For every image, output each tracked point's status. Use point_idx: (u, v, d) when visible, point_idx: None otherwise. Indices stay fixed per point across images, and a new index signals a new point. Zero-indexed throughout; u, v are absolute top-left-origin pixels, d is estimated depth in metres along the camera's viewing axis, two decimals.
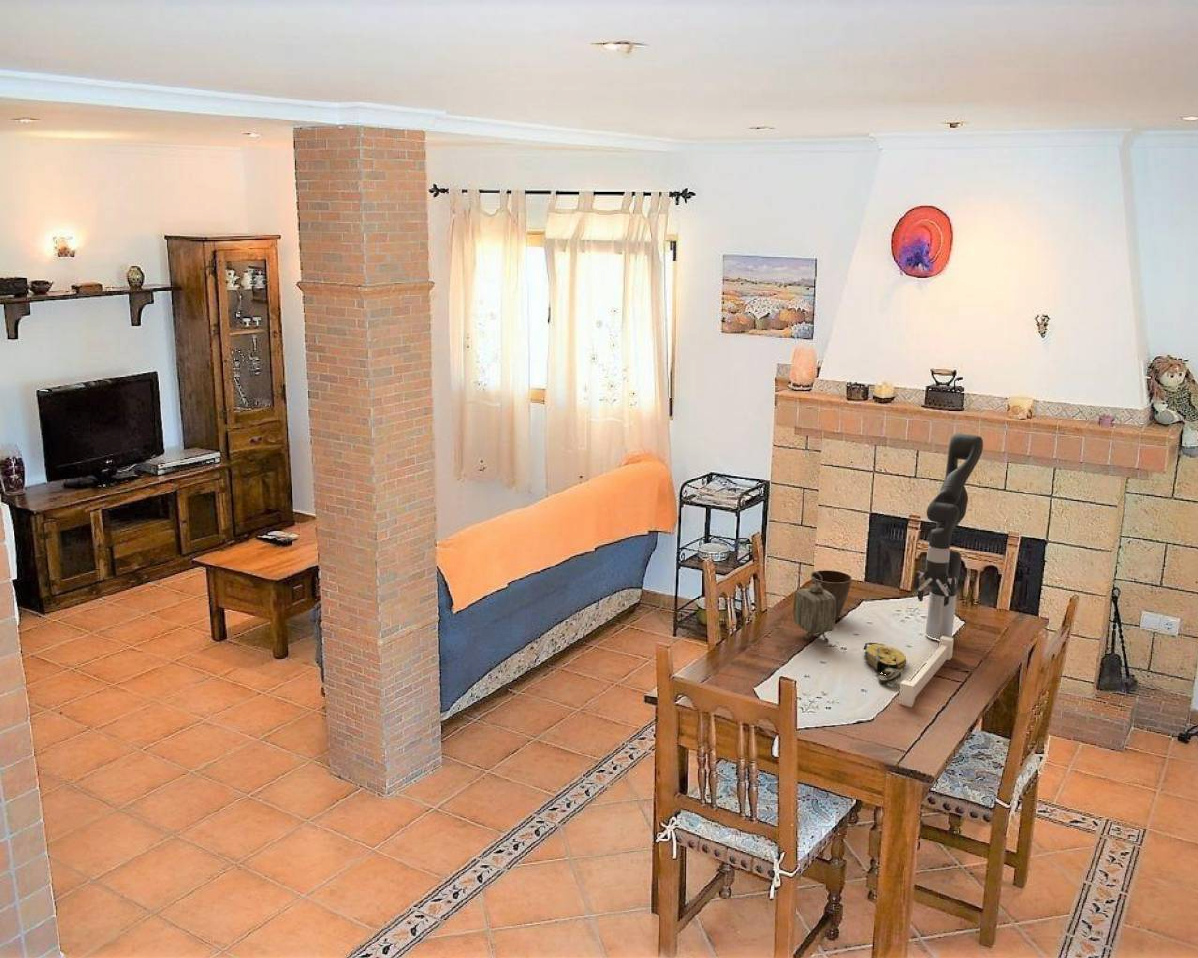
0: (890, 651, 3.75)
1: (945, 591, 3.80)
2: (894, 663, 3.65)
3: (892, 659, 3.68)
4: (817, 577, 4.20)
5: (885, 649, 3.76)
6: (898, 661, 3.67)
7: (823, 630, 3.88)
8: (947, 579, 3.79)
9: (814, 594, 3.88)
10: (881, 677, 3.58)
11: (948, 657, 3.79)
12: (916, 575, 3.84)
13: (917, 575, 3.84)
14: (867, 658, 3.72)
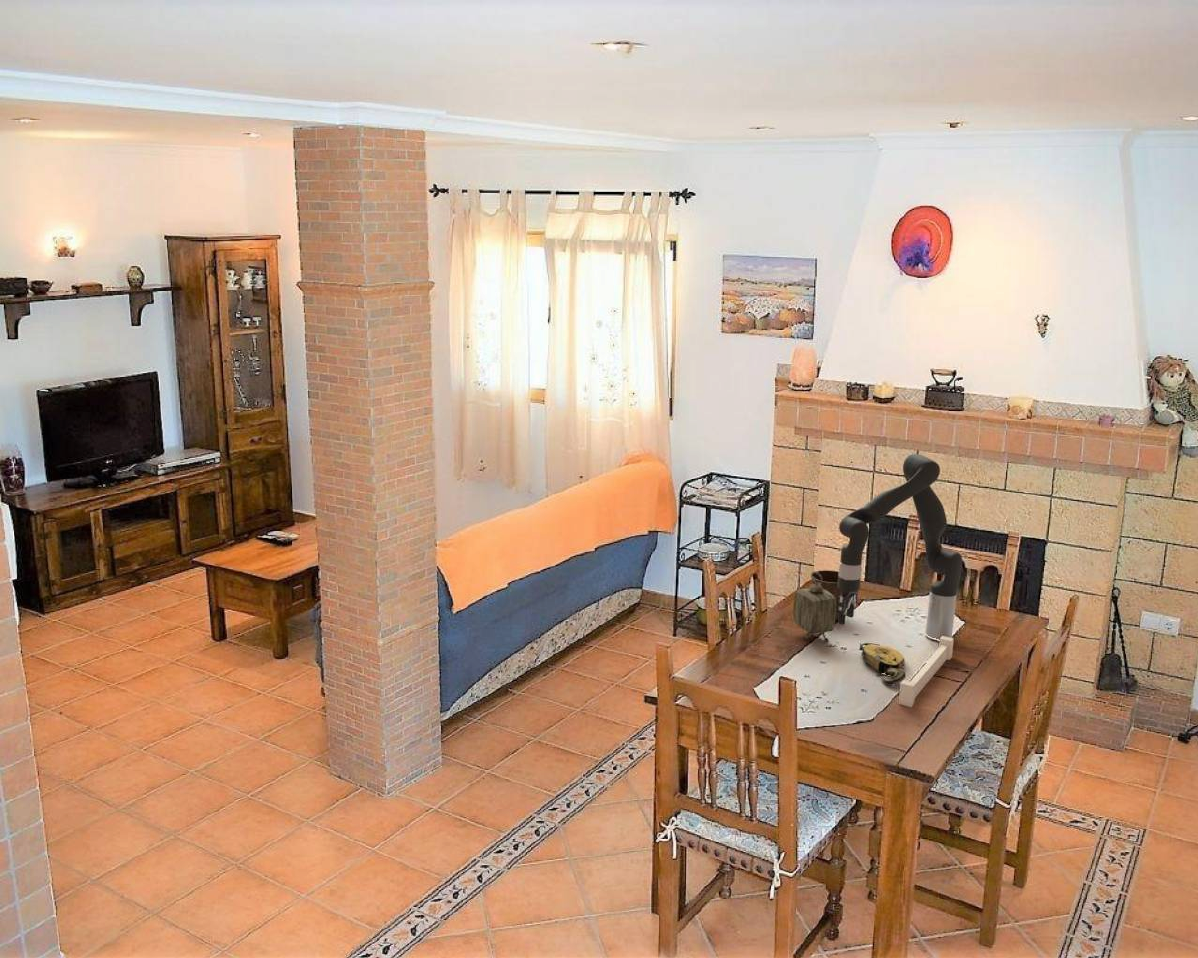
0: (887, 651, 3.75)
1: (854, 602, 3.75)
2: (895, 663, 3.65)
3: (892, 659, 3.68)
4: (817, 577, 4.20)
5: (882, 649, 3.76)
6: (898, 661, 3.67)
7: (823, 630, 3.88)
8: None
9: (814, 594, 3.88)
10: (886, 678, 3.58)
11: (948, 657, 3.79)
12: (844, 601, 3.66)
13: (845, 600, 3.66)
14: (866, 659, 3.71)
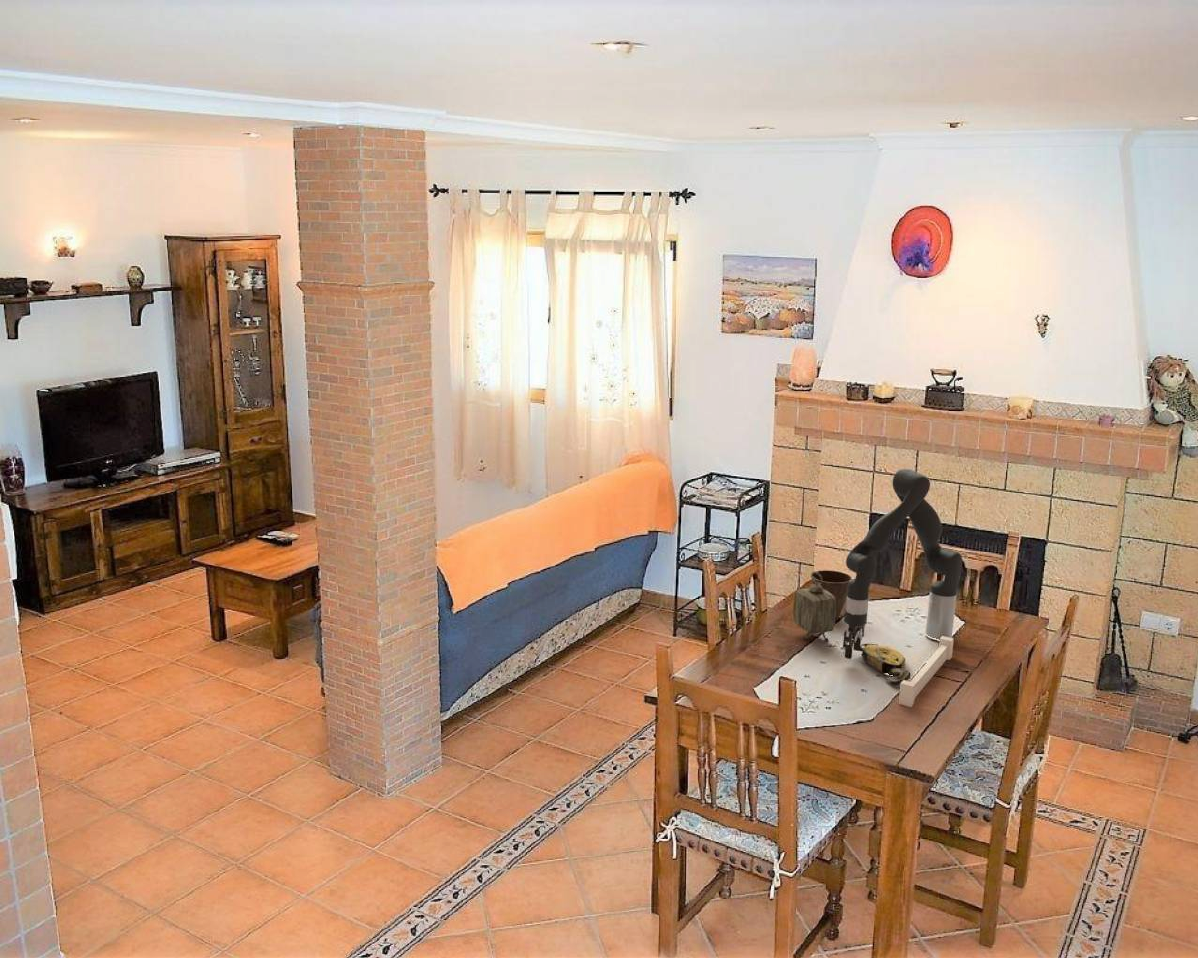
0: (887, 651, 3.75)
1: None
2: (898, 663, 3.65)
3: (894, 659, 3.68)
4: (817, 577, 4.20)
5: (882, 649, 3.76)
6: (900, 660, 3.68)
7: (823, 630, 3.88)
8: None
9: (814, 594, 3.88)
10: (891, 678, 3.57)
11: (948, 657, 3.79)
12: (851, 635, 3.67)
13: (851, 635, 3.67)
14: (868, 660, 3.70)
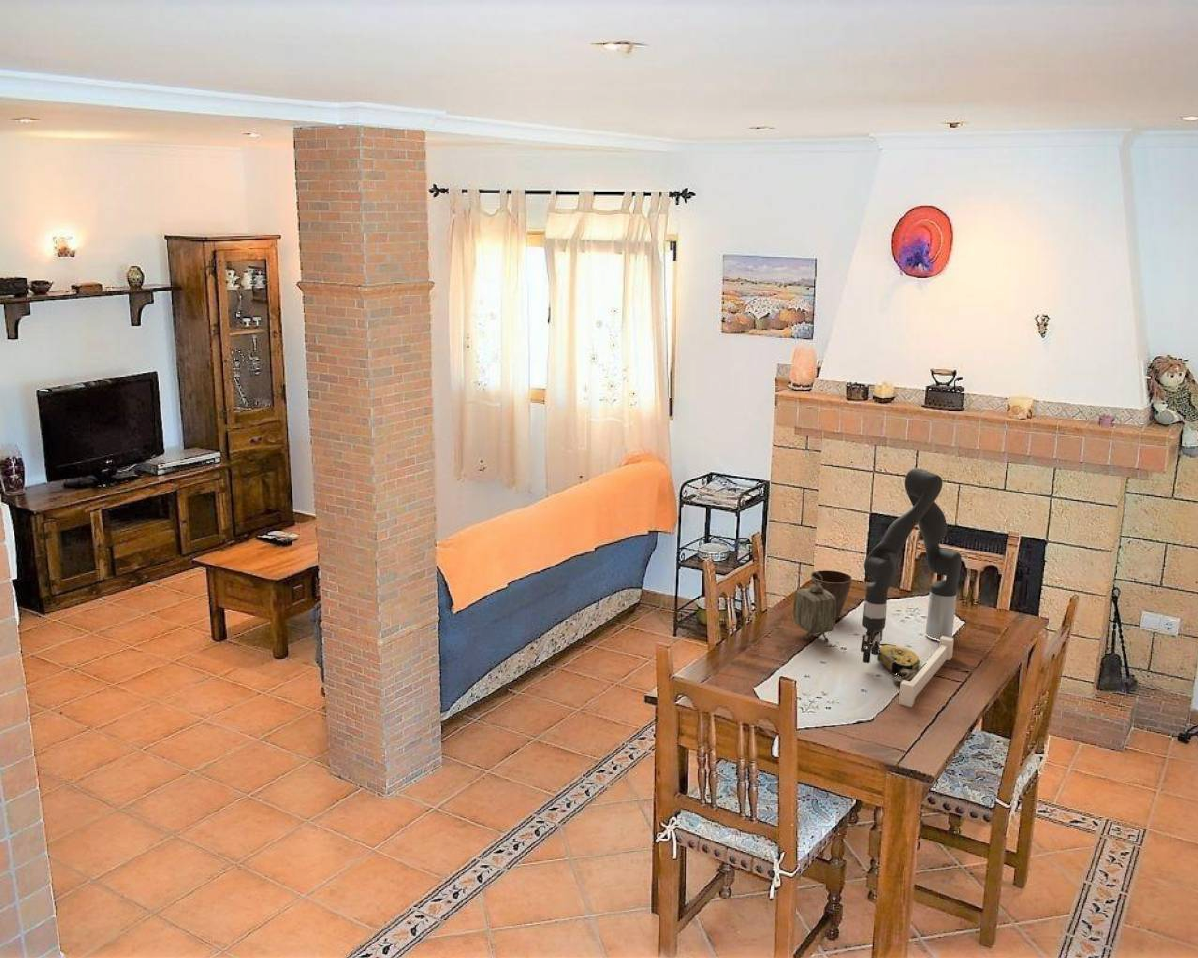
0: (903, 652, 3.74)
1: (879, 640, 3.73)
2: (909, 664, 3.64)
3: (906, 660, 3.67)
4: (817, 577, 4.20)
5: (898, 650, 3.75)
6: (912, 662, 3.66)
7: (823, 630, 3.88)
8: None
9: (814, 594, 3.88)
10: (897, 678, 3.57)
11: (948, 657, 3.79)
12: (869, 639, 3.64)
13: (870, 639, 3.64)
14: (881, 659, 3.71)
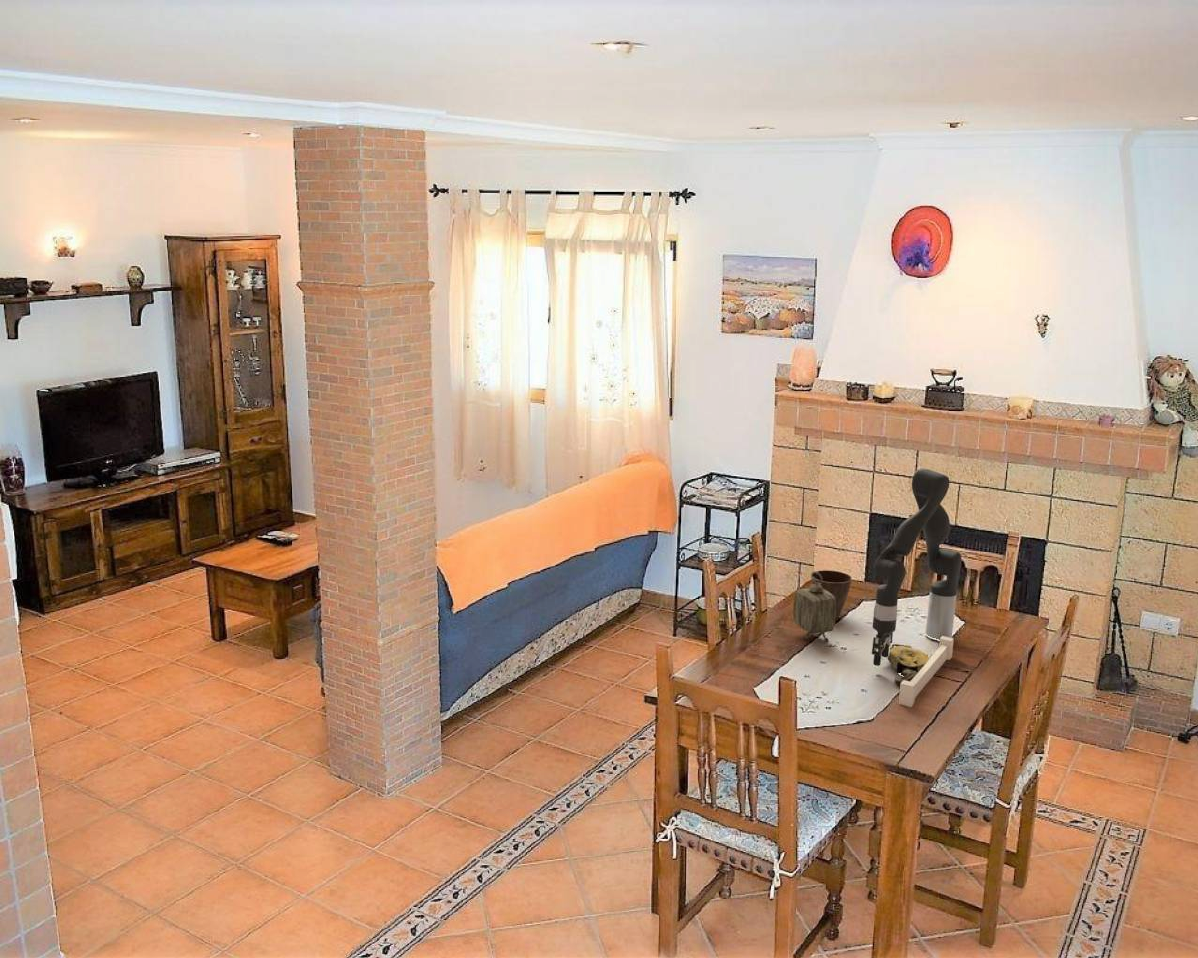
0: (914, 653, 3.73)
1: (889, 642, 3.71)
2: (914, 665, 3.63)
3: (913, 661, 3.66)
4: (817, 577, 4.20)
5: (910, 651, 3.74)
6: (919, 663, 3.65)
7: (823, 630, 3.88)
8: None
9: (814, 594, 3.88)
10: (897, 678, 3.58)
11: (948, 657, 3.79)
12: (880, 642, 3.62)
13: (881, 641, 3.62)
14: (889, 659, 3.72)
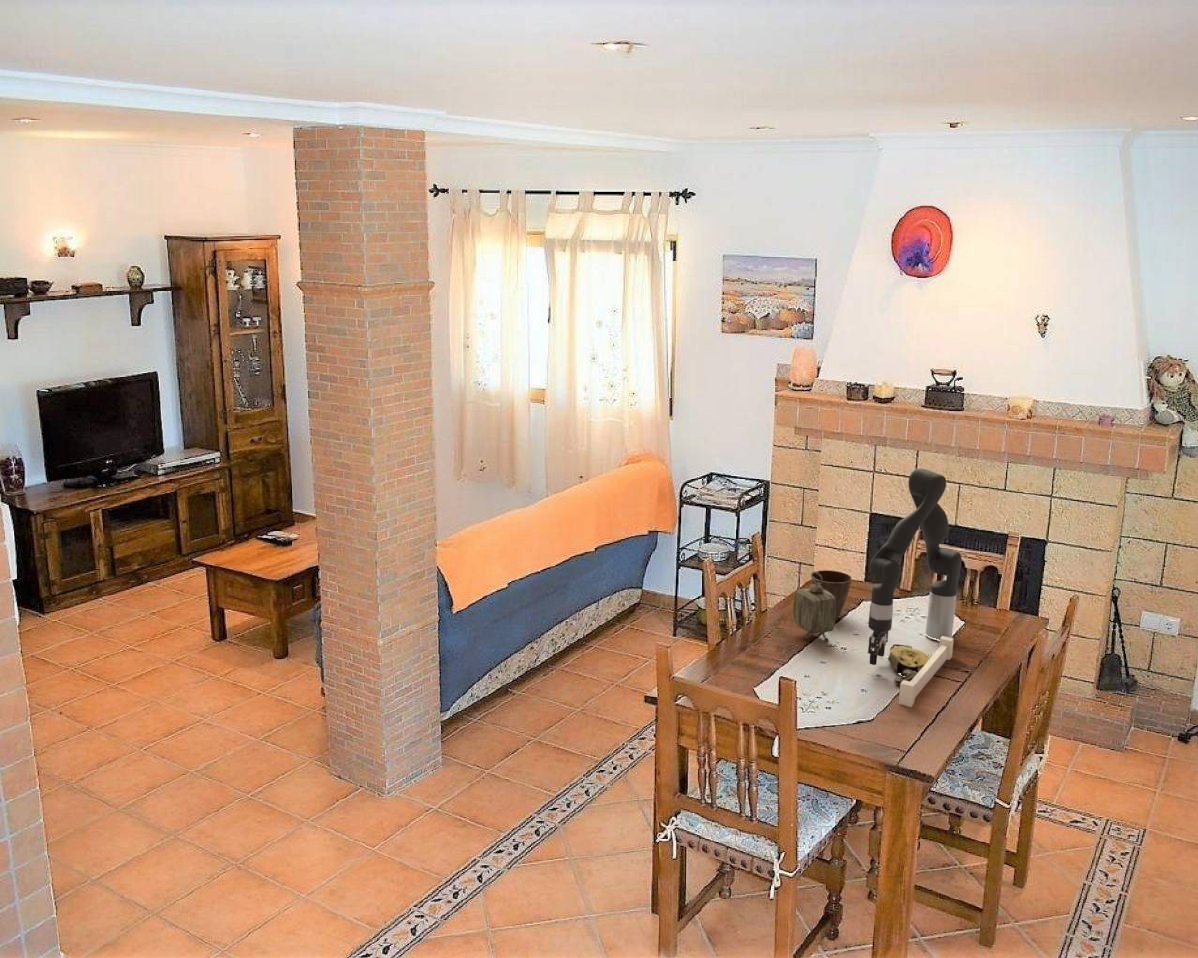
0: (915, 654, 3.73)
1: None
2: (914, 665, 3.63)
3: (914, 662, 3.66)
4: (817, 577, 4.20)
5: (910, 651, 3.74)
6: (919, 664, 3.65)
7: (823, 630, 3.88)
8: None
9: (814, 594, 3.88)
10: (897, 678, 3.58)
11: (948, 657, 3.79)
12: (876, 641, 3.62)
13: (877, 640, 3.63)
14: (890, 659, 3.72)
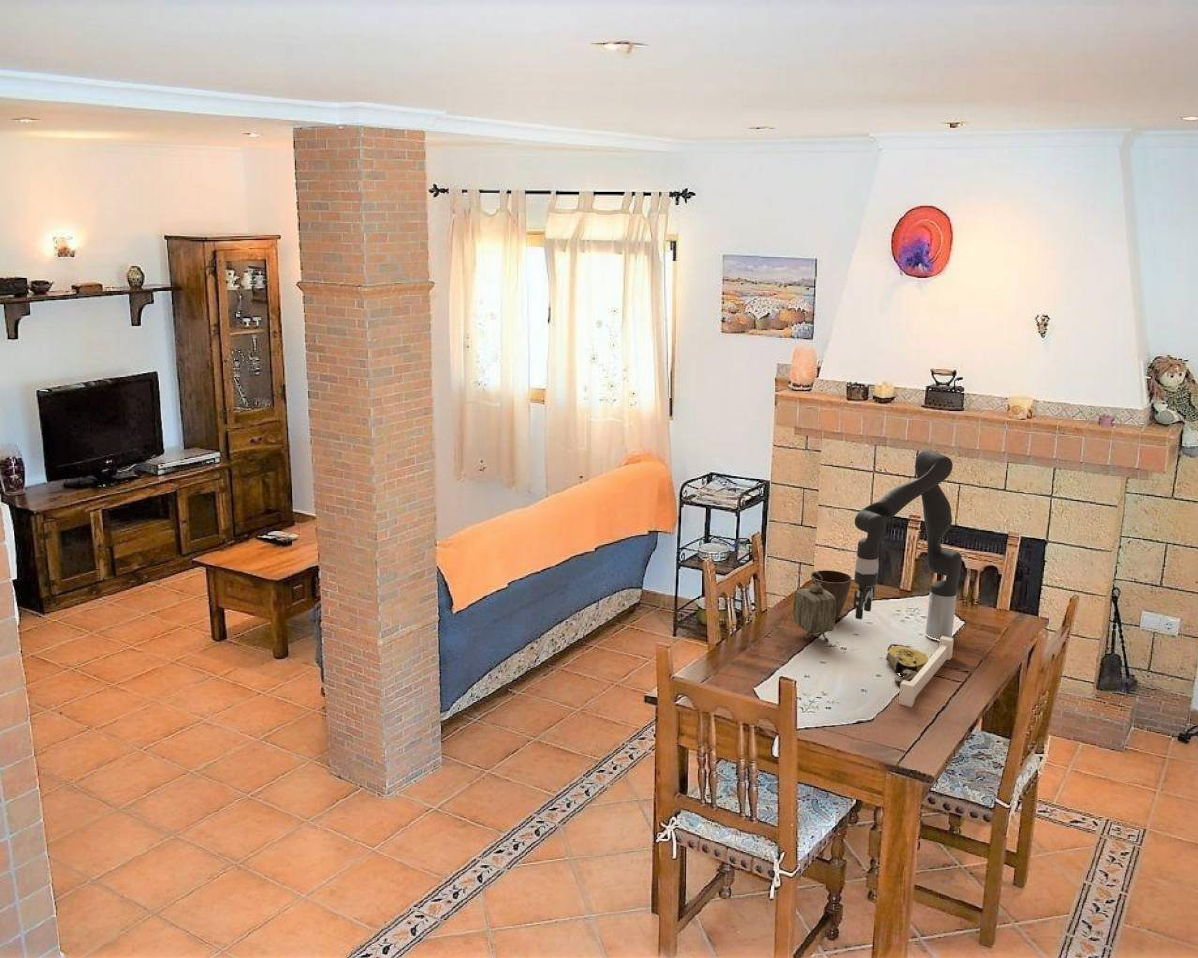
0: (913, 653, 3.73)
1: (871, 596, 3.72)
2: (913, 665, 3.63)
3: (912, 661, 3.66)
4: (817, 577, 4.20)
5: (908, 651, 3.75)
6: (918, 663, 3.66)
7: (823, 630, 3.88)
8: None
9: (814, 594, 3.88)
10: (897, 678, 3.58)
11: (948, 657, 3.79)
12: (862, 595, 3.62)
13: (862, 595, 3.62)
14: (888, 659, 3.72)
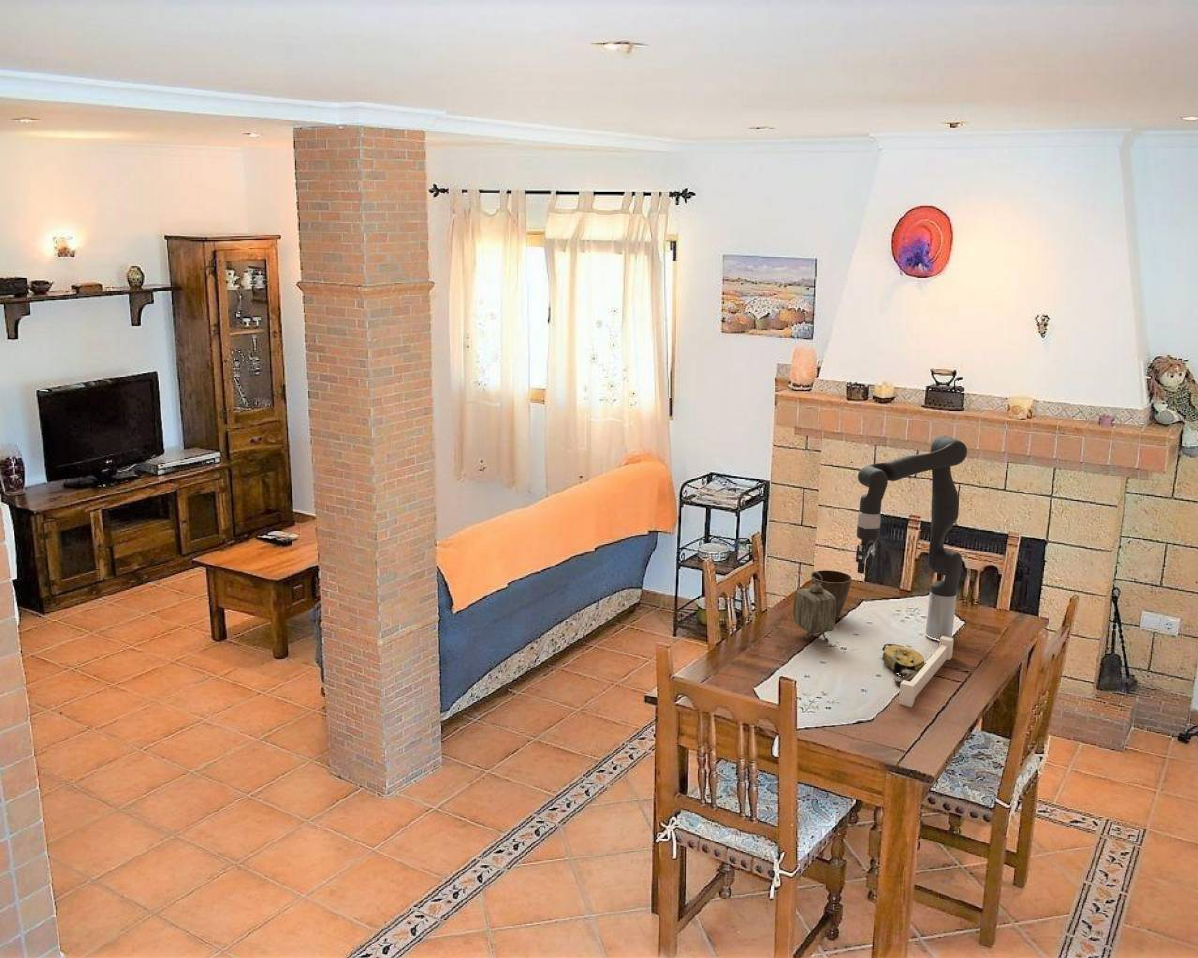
0: (908, 653, 3.74)
1: None
2: (911, 664, 3.64)
3: (910, 661, 3.67)
4: (817, 577, 4.20)
5: (903, 650, 3.75)
6: (916, 663, 3.66)
7: (823, 630, 3.88)
8: None
9: (814, 594, 3.88)
10: (897, 678, 3.58)
11: (948, 657, 3.79)
12: (864, 549, 3.69)
13: (864, 549, 3.70)
14: (885, 659, 3.71)
